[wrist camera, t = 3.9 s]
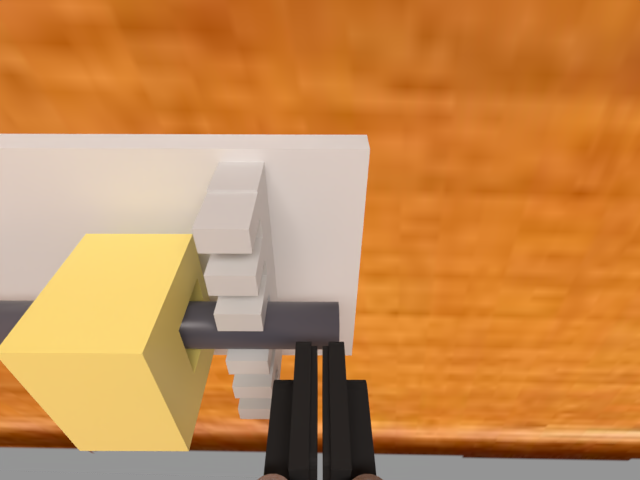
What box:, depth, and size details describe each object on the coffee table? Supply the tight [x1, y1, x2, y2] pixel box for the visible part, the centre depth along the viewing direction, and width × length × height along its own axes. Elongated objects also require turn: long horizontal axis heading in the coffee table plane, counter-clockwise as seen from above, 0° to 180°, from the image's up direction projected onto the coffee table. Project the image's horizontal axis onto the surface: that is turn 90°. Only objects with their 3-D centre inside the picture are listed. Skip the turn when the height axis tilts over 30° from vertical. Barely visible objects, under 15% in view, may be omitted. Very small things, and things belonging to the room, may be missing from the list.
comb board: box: [0, 134, 370, 419], centre depth 16 cm, size 21×12×6 cm, turn 90°
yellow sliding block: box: [0, 234, 215, 451], centre depth 14 cm, size 4×6×5 cm, turn 0°
